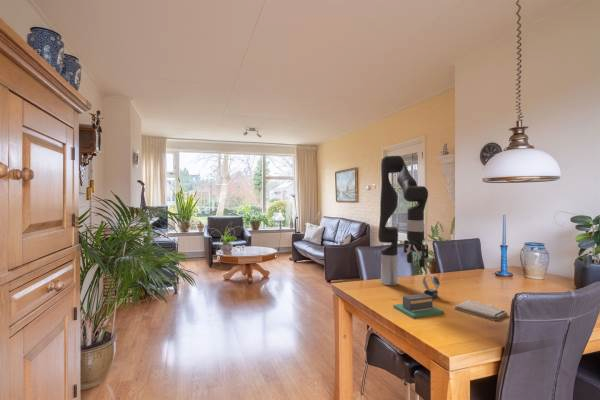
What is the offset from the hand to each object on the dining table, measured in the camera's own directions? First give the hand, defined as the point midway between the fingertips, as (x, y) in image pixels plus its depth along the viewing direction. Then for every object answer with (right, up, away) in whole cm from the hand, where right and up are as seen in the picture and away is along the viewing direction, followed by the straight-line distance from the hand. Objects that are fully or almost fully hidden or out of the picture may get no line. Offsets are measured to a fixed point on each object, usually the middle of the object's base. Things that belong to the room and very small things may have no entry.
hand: (415, 264), depth 147 cm
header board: (0, -20, -4) cm, 20 cm away
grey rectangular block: (0, -18, -4) cm, 19 cm away
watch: (+13, -20, +15) cm, 28 cm away
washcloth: (+26, -20, -6) cm, 34 cm away
